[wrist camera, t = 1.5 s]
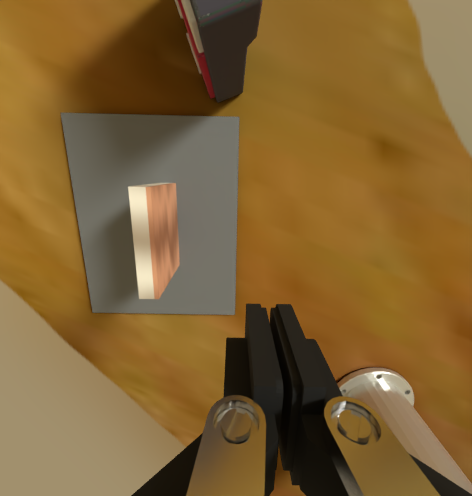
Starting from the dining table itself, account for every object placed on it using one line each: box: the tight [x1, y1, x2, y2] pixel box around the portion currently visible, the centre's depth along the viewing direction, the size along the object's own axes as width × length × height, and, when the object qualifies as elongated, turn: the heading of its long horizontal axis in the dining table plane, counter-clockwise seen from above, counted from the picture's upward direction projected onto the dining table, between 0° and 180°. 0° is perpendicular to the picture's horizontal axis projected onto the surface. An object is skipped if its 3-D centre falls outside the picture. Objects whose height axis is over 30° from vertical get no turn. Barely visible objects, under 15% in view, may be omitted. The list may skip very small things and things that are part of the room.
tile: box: [128, 183, 180, 299], centre depth 26 cm, size 10×2×9 cm, turn 179°
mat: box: [61, 113, 239, 315], centre depth 31 cm, size 24×19×1 cm
